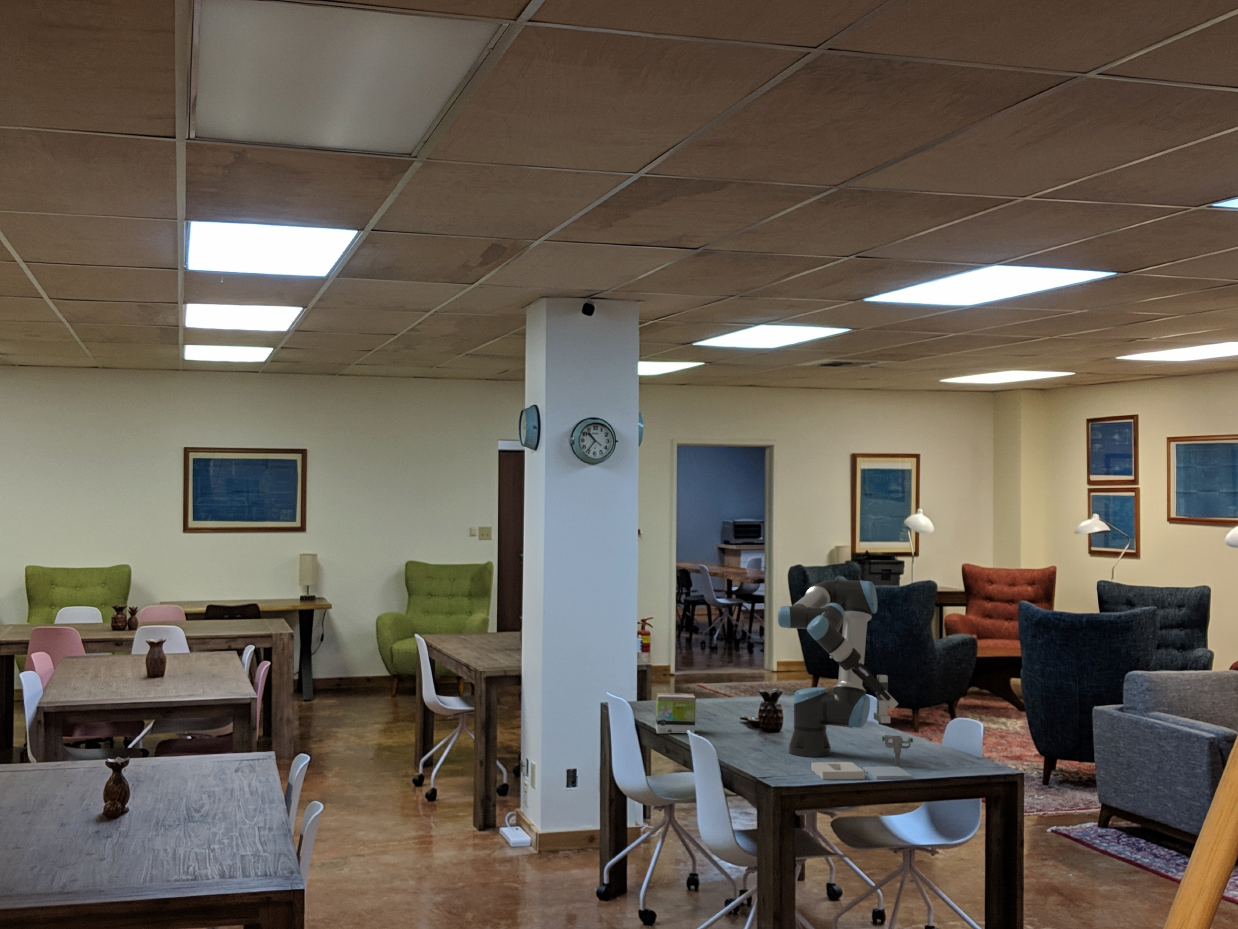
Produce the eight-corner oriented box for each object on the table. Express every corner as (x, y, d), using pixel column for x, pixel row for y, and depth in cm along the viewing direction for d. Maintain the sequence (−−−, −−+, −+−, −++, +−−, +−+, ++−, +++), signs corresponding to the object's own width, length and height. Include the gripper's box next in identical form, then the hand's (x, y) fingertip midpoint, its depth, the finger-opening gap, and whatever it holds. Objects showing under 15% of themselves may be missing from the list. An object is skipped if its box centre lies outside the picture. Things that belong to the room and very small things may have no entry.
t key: (873, 718, 390) (874, 673, 391) (883, 718, 390) (883, 673, 391) (880, 723, 382) (881, 677, 383) (890, 723, 382) (890, 677, 383)
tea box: (657, 734, 451) (657, 696, 452) (655, 729, 461) (655, 692, 462) (695, 734, 451) (695, 696, 452) (693, 730, 461) (693, 692, 462)
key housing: (811, 770, 391) (811, 762, 391) (851, 769, 392) (851, 762, 392) (822, 779, 377) (822, 771, 377) (864, 779, 378) (864, 771, 378)
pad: (863, 769, 393) (863, 766, 393) (897, 769, 394) (897, 766, 394) (876, 779, 379) (876, 776, 379) (912, 778, 380) (912, 775, 380)
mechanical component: (912, 767, 397) (912, 738, 398) (882, 765, 400) (882, 736, 400) (912, 765, 400) (912, 736, 401) (882, 764, 402) (882, 734, 403)
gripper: (831, 659, 394) (878, 709, 394) (843, 666, 378) (893, 717, 378) (846, 644, 394) (894, 693, 395) (859, 650, 378) (909, 701, 379)
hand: (893, 705), depth 387 cm, fingers closed on t key, 3 cm apart
